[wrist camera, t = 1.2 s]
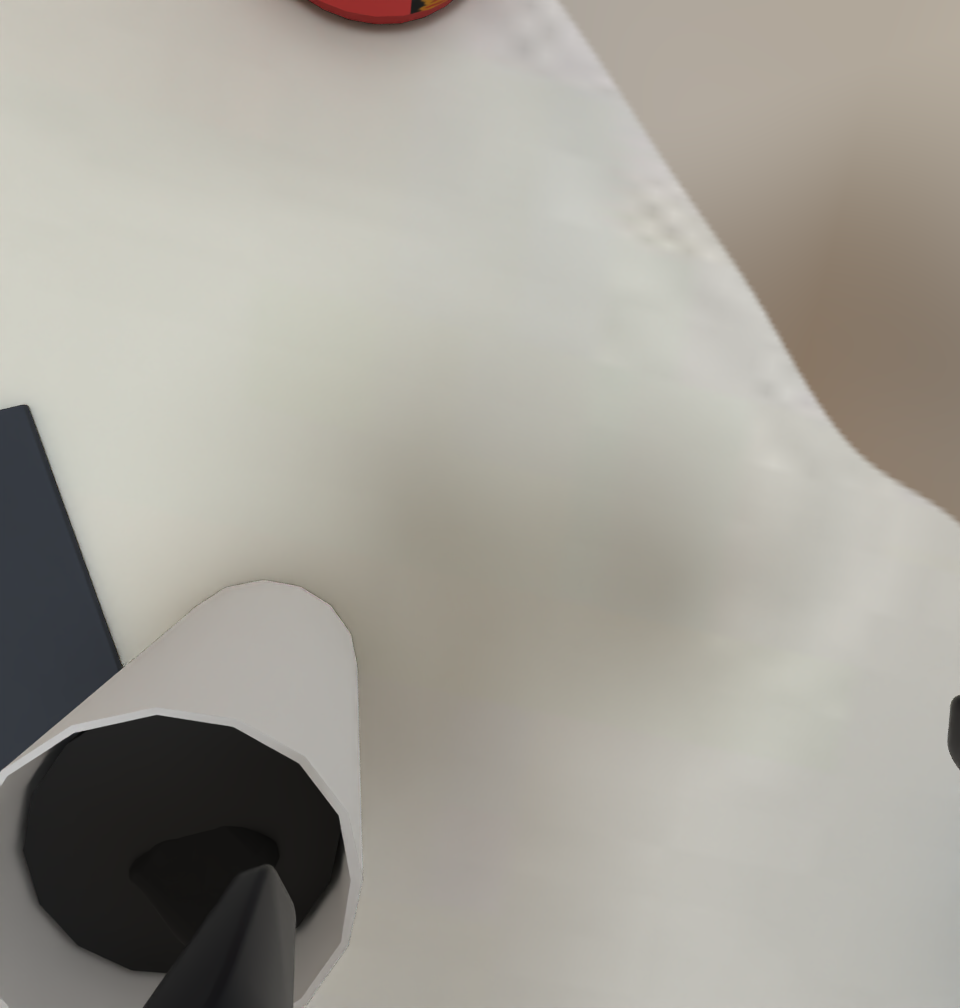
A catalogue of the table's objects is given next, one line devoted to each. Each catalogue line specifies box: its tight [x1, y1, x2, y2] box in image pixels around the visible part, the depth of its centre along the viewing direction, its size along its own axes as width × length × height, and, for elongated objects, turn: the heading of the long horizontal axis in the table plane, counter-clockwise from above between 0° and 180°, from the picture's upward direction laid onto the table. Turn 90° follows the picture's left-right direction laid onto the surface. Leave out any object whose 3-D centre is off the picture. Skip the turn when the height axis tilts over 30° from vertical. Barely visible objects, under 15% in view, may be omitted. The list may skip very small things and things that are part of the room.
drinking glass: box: [0, 580, 363, 1008], centre depth 16 cm, size 7×7×10 cm
